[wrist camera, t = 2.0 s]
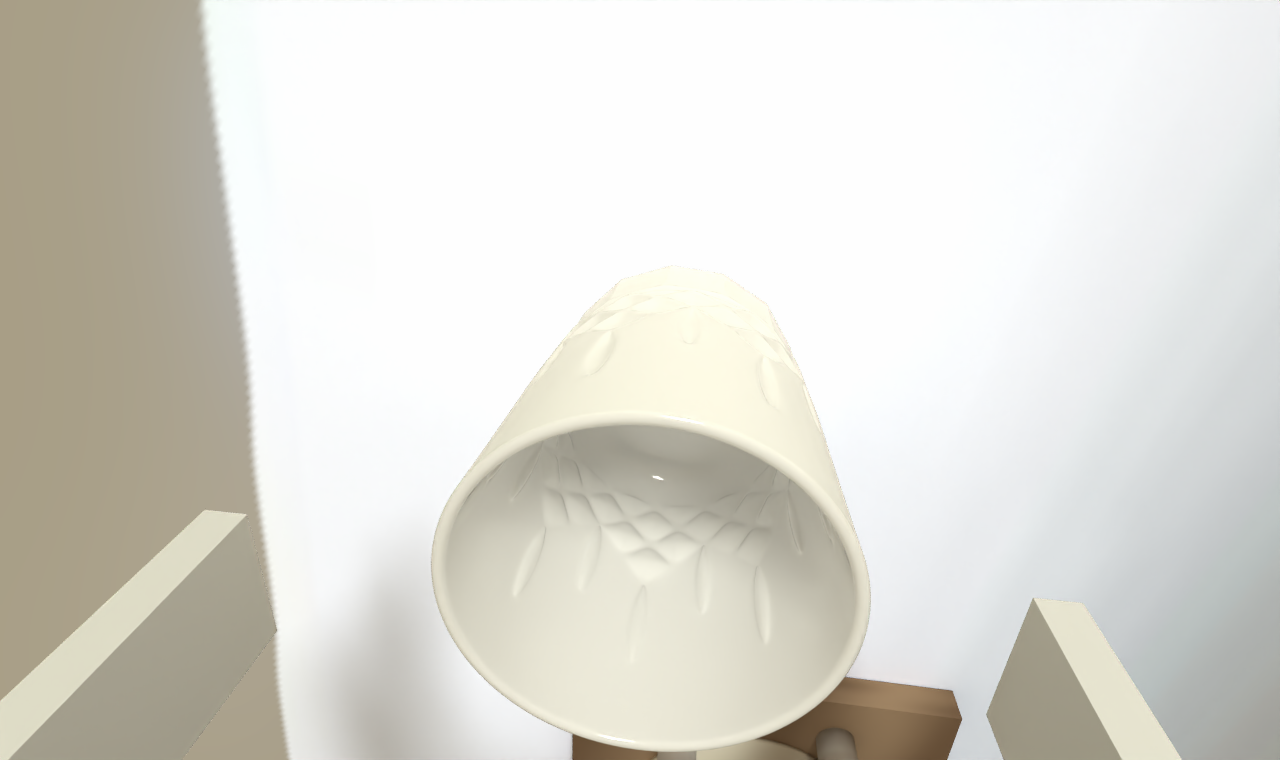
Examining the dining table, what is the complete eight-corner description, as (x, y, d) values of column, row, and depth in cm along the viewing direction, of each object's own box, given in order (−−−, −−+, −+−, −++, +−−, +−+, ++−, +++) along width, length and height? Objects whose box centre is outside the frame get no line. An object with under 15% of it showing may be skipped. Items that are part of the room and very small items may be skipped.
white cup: (545, 454, 23) (430, 712, 14) (564, 223, 20) (428, 374, 11) (778, 496, 23) (809, 786, 14) (841, 268, 20) (934, 462, 11)
